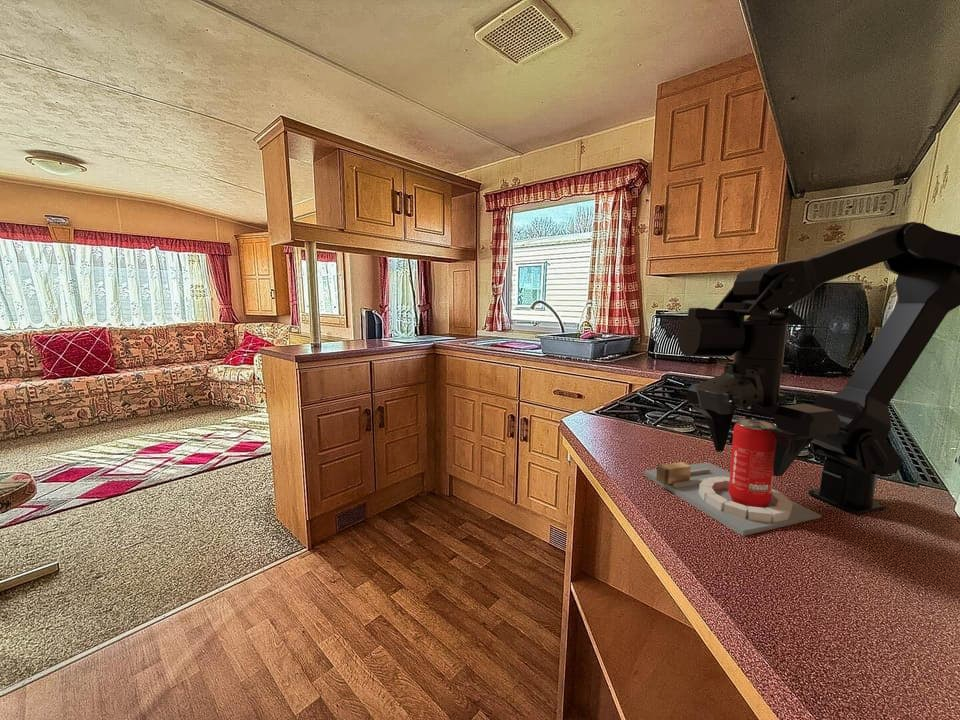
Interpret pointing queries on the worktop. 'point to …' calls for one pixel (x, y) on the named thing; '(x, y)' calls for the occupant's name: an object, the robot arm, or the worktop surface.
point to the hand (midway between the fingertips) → (746, 462)
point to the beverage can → (752, 463)
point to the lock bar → (673, 473)
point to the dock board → (714, 500)
